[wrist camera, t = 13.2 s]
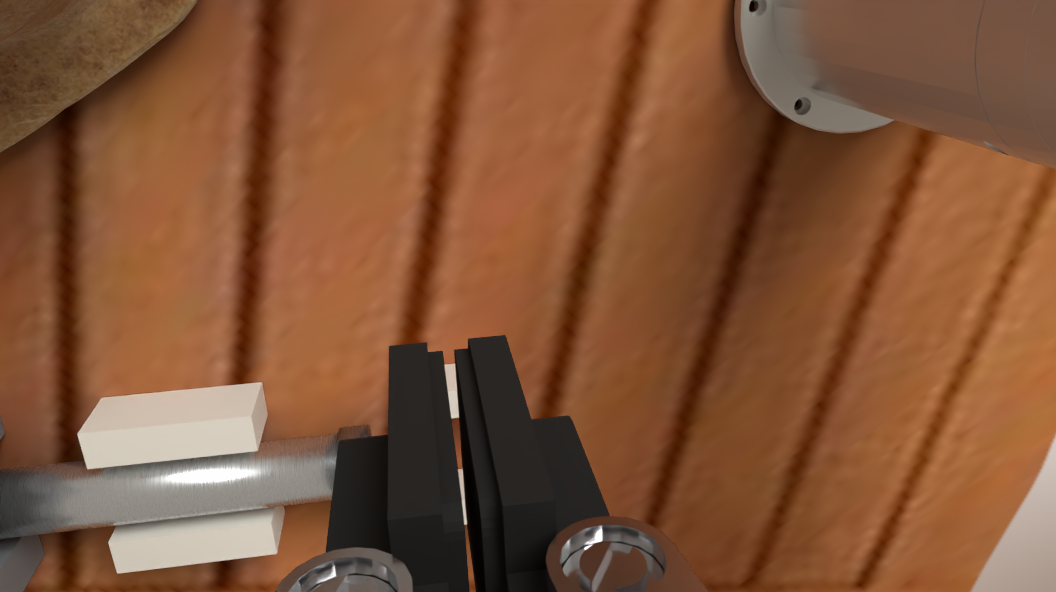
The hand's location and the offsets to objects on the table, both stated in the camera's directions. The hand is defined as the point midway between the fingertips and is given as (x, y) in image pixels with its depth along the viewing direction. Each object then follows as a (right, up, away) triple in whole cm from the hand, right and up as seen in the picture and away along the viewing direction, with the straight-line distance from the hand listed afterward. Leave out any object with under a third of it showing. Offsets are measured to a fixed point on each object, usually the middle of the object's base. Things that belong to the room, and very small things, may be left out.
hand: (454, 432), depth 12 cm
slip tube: (-19, -7, +31) cm, 37 cm away
